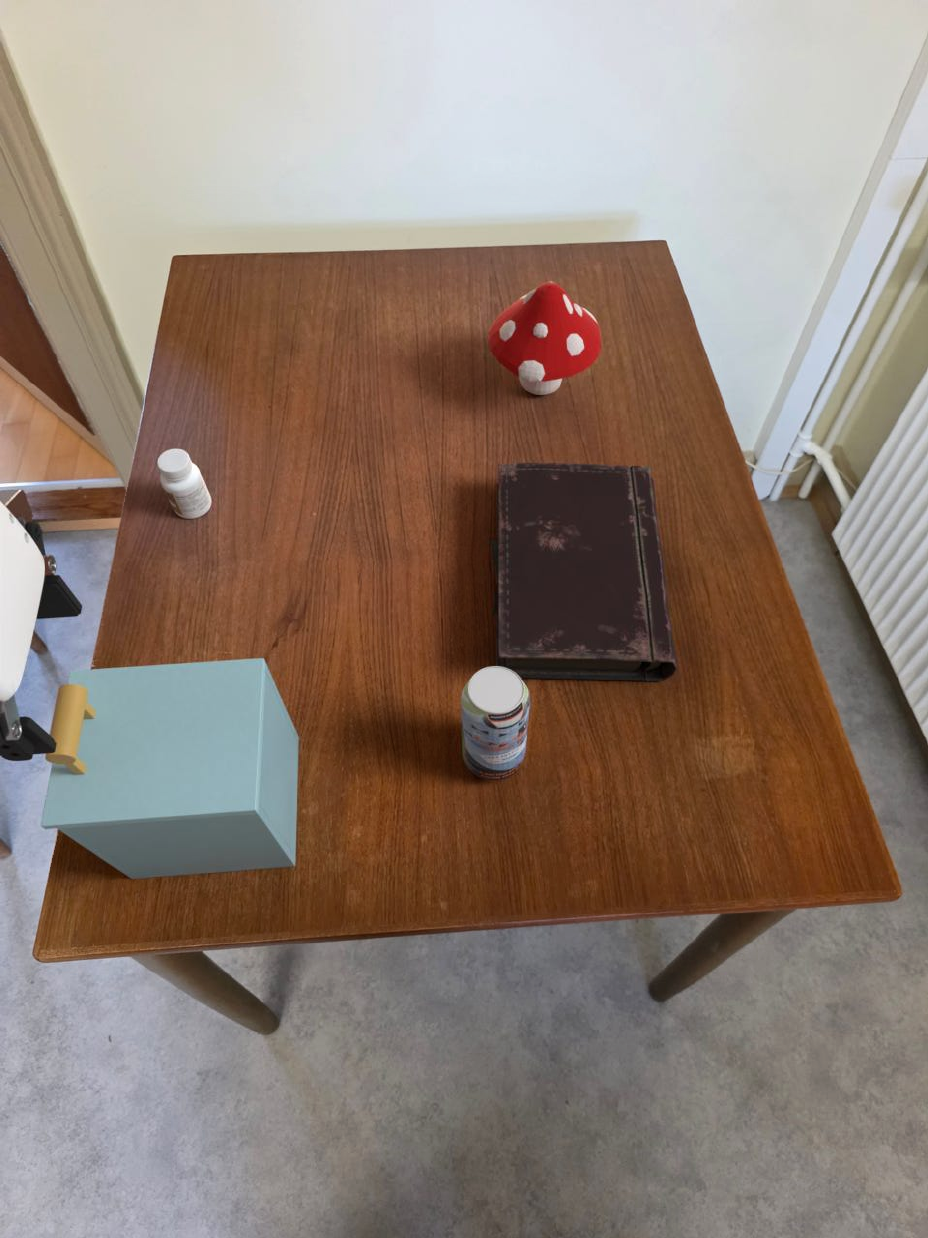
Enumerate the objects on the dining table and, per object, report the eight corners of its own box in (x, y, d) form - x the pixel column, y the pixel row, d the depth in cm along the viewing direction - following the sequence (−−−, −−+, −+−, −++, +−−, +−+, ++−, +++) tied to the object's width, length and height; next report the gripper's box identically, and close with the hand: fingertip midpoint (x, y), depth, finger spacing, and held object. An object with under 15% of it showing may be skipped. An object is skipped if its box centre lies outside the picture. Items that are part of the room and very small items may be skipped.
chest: (131, 879, 73) (56, 828, 59) (148, 747, 79) (83, 674, 66) (295, 866, 73) (258, 813, 60) (298, 737, 80) (265, 662, 66)
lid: (44, 829, 59) (10, 806, 55) (73, 675, 65) (44, 643, 61) (258, 813, 60) (241, 789, 55) (265, 662, 66) (251, 629, 62)
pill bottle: (171, 495, 95) (150, 449, 89) (209, 486, 96) (190, 441, 89) (176, 524, 93) (154, 479, 86) (214, 515, 94) (196, 470, 87)
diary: (647, 492, 96) (656, 463, 91) (670, 683, 83) (682, 660, 79) (489, 489, 96) (491, 460, 92) (488, 679, 83) (490, 656, 79)
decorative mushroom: (564, 336, 109) (577, 234, 97) (615, 404, 103) (637, 304, 90) (469, 366, 106) (470, 265, 94) (515, 438, 100) (524, 339, 87)
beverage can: (471, 793, 77) (473, 745, 67) (451, 723, 81) (450, 668, 70) (534, 776, 78) (546, 726, 68) (512, 708, 81) (519, 651, 71)
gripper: (-146, 380, 41) (13, 570, 56) (-277, 687, 32) (-47, 816, 47) (5, 372, 42) (123, 563, 56) (-84, 674, 33) (84, 806, 47)
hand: (46, 678), depth 52 cm, fingers open, 9 cm apart
